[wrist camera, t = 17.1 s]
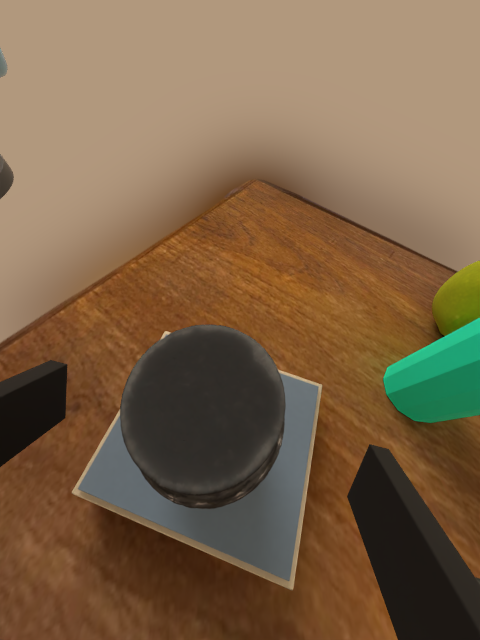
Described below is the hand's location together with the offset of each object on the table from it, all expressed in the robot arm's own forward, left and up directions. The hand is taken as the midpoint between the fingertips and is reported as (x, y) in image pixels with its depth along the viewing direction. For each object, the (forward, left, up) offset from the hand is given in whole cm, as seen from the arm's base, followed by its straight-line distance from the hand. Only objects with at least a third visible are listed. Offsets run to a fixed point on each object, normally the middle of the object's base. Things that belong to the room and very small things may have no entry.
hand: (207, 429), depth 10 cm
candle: (+17, +11, -11) cm, 23 cm away
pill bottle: (0, 0, -7) cm, 7 cm away
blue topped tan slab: (0, +1, -11) cm, 11 cm away
